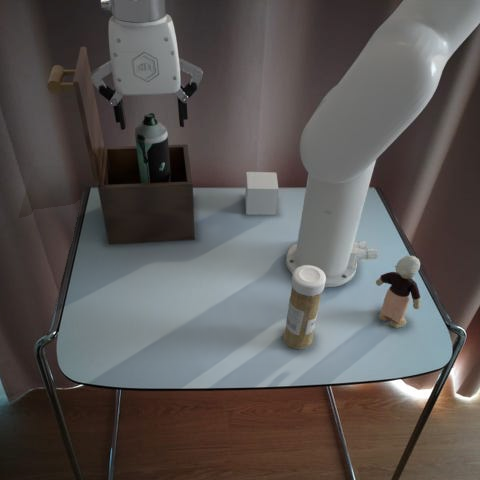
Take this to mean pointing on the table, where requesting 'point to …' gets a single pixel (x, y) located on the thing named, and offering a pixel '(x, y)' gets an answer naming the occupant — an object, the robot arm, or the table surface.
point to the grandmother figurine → (400, 291)
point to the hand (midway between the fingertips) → (152, 124)
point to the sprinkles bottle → (303, 305)
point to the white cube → (261, 193)
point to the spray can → (152, 151)
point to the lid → (83, 107)
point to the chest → (146, 198)
